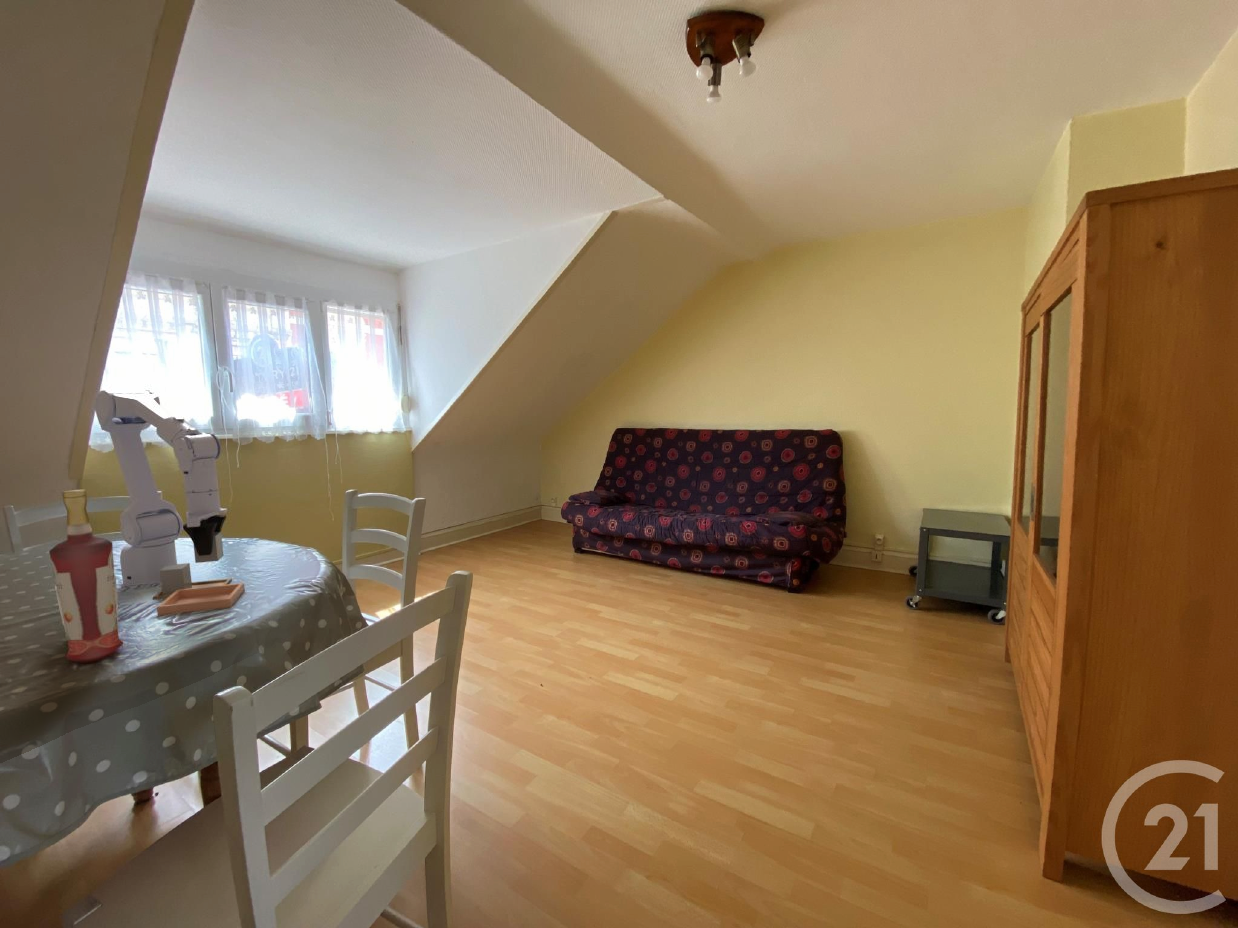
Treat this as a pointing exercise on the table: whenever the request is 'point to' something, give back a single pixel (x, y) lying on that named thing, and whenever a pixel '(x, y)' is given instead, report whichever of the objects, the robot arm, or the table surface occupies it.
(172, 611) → the terracotta dish
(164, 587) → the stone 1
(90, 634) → the liquor
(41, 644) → the table surface
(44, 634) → the table surface
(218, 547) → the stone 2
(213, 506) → the robot arm
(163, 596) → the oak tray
